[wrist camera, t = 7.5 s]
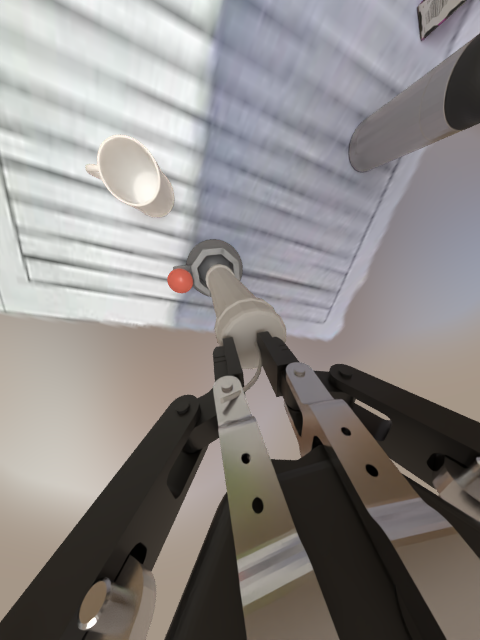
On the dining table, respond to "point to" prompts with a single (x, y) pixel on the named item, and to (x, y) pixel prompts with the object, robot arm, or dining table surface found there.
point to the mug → (133, 175)
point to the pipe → (241, 319)
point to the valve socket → (204, 266)
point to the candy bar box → (435, 13)
